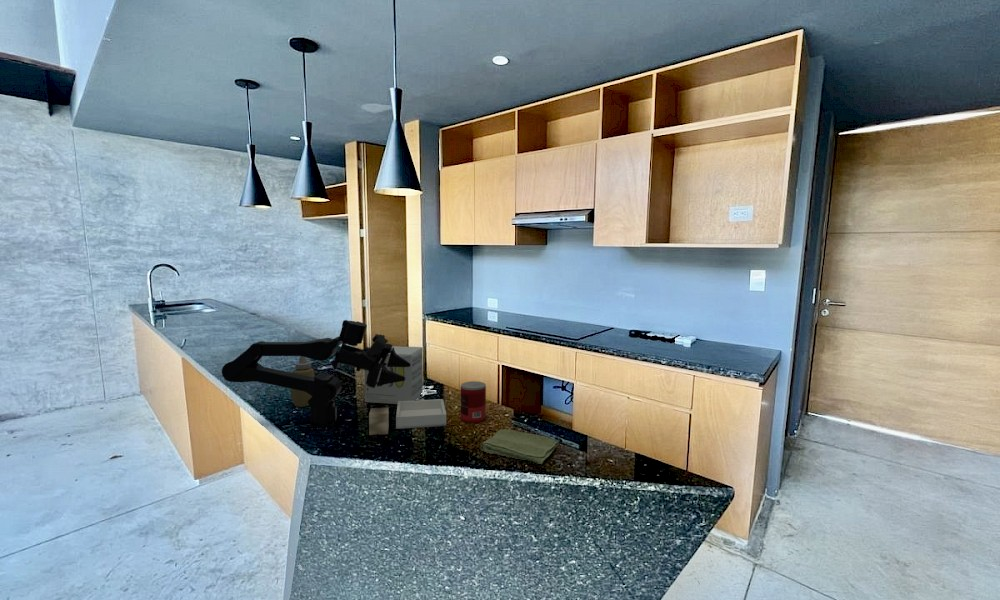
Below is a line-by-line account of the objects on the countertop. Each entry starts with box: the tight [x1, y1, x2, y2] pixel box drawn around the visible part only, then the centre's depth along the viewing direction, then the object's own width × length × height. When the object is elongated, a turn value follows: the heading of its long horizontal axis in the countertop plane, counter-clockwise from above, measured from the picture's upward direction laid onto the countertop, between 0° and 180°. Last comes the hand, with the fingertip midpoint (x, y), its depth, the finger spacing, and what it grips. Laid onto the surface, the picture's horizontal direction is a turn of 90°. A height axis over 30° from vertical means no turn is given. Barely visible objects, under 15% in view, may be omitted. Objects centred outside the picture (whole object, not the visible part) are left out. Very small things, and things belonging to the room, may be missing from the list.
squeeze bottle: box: [290, 356, 316, 408], centre depth 139 cm, size 8×8×18 cm
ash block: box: [368, 407, 390, 436], centre depth 118 cm, size 5×5×6 cm
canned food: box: [460, 380, 487, 424], centre depth 128 cm, size 8×8×11 cm
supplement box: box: [364, 345, 424, 405], centre depth 147 cm, size 17×13×18 cm
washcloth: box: [480, 428, 559, 465], centre depth 107 cm, size 13×18×3 cm
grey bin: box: [395, 398, 447, 430], centre depth 128 cm, size 15×15×4 cm
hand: (407, 371), depth 125 cm, fingers open, 9 cm apart
